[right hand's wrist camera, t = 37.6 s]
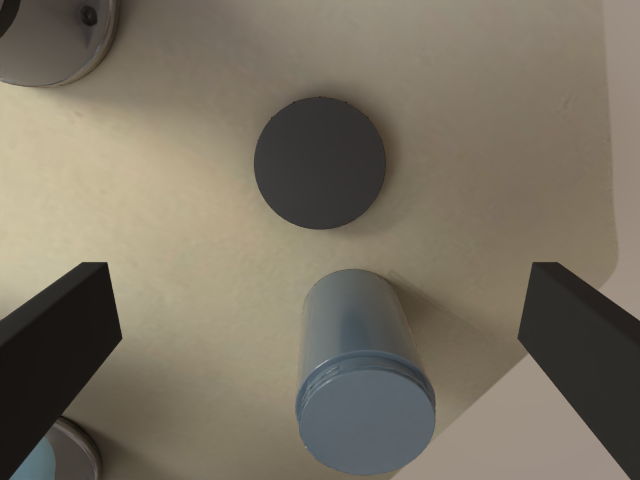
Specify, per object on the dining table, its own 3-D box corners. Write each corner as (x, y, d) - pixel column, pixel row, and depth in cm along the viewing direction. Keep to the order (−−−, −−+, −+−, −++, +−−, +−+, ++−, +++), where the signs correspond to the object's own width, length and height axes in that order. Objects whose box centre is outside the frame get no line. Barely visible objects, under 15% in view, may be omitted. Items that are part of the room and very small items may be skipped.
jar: (348, 249, 40) (364, 337, 26) (421, 309, 42) (472, 420, 28) (282, 317, 43) (263, 431, 28) (354, 370, 45) (370, 500, 31)
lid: (231, 146, 36) (227, 148, 35) (338, 69, 34) (339, 68, 33) (303, 245, 40) (302, 251, 38) (405, 181, 38) (409, 185, 36)
